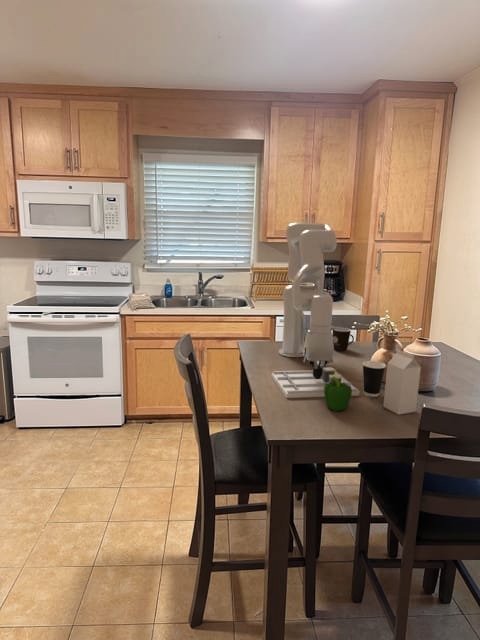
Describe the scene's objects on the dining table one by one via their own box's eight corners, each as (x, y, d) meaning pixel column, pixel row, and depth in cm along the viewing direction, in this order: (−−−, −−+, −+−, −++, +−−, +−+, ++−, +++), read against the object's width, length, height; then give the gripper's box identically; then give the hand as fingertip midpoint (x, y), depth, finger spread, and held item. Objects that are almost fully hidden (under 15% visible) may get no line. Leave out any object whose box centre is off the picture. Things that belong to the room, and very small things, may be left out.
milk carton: (398, 415, 140) (404, 356, 137) (383, 406, 147) (388, 350, 143) (415, 412, 143) (422, 354, 139) (399, 404, 150) (405, 348, 146)
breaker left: (313, 372, 174) (314, 361, 173) (322, 372, 174) (323, 361, 174) (315, 374, 172) (316, 363, 171) (324, 374, 172) (325, 363, 171)
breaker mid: (322, 379, 166) (322, 367, 165) (331, 379, 167) (332, 367, 166) (324, 381, 164) (325, 369, 163) (333, 381, 165) (334, 369, 164)
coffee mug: (328, 347, 219) (330, 327, 217) (345, 347, 220) (347, 327, 218) (336, 354, 208) (337, 332, 206) (354, 353, 209) (355, 333, 207)
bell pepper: (354, 412, 142) (357, 382, 140) (331, 414, 140) (333, 383, 138) (341, 402, 150) (343, 373, 148) (319, 404, 148) (321, 375, 145)
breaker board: (271, 376, 173) (271, 371, 173) (335, 375, 178) (336, 369, 177) (286, 398, 152) (286, 391, 152) (359, 395, 156) (359, 389, 156)
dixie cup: (386, 393, 159) (389, 363, 157) (378, 400, 153) (381, 369, 150) (364, 388, 164) (367, 359, 161) (356, 394, 157) (358, 364, 155)
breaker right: (328, 387, 158) (329, 374, 158) (337, 386, 159) (338, 374, 158) (330, 389, 156) (331, 376, 155) (340, 389, 157) (341, 376, 156)
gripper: (336, 326, 166) (332, 374, 169) (297, 327, 163) (294, 375, 167) (344, 331, 158) (340, 381, 162) (303, 331, 156) (300, 382, 160)
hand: (317, 378), depth 165 cm, fingers closed
